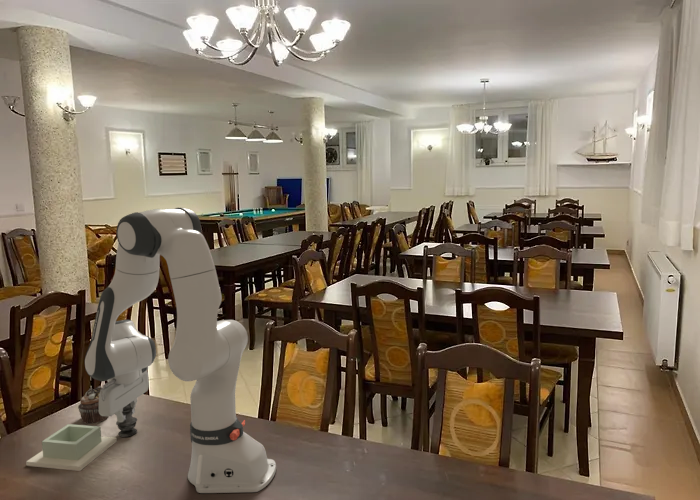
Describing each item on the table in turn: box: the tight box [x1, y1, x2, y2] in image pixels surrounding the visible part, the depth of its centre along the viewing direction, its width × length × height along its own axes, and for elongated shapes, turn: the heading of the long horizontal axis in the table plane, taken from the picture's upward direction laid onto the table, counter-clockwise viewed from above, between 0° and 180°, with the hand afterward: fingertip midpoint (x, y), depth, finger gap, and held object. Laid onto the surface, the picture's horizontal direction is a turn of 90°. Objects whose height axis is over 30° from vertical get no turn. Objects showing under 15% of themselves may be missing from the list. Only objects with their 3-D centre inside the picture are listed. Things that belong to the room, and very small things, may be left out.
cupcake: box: [77, 385, 109, 425], centre depth 171 cm, size 10×10×10 cm
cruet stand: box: [25, 423, 117, 472], centre depth 149 cm, size 16×16×6 cm
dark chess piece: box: [115, 403, 138, 438], centre depth 160 cm, size 6×6×12 cm
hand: (126, 417), depth 160 cm, fingers closed on dark chess piece, 3 cm apart
